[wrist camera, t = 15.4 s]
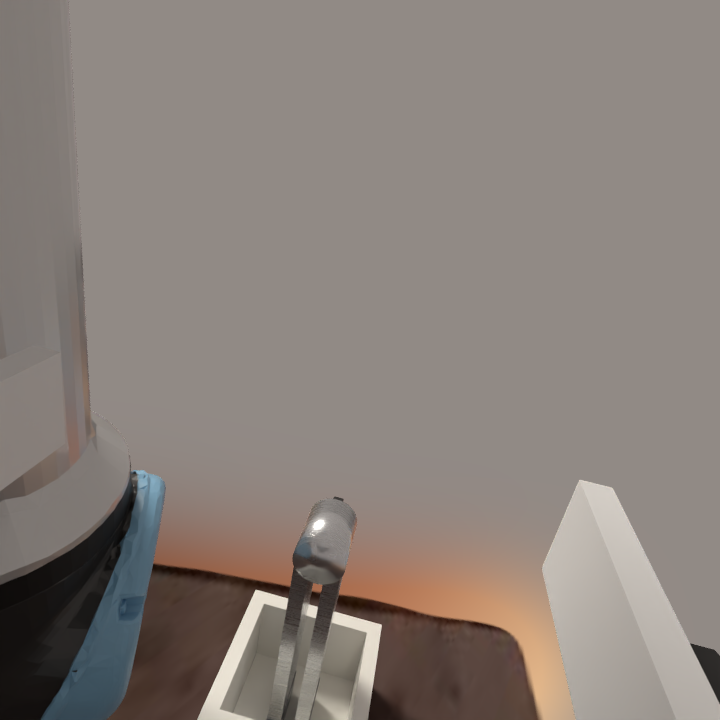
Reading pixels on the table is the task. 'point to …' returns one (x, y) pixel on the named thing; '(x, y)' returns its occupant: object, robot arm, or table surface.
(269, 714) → the tongs
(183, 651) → the table surface
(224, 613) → the table surface
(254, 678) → the caddy
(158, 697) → the table surface
